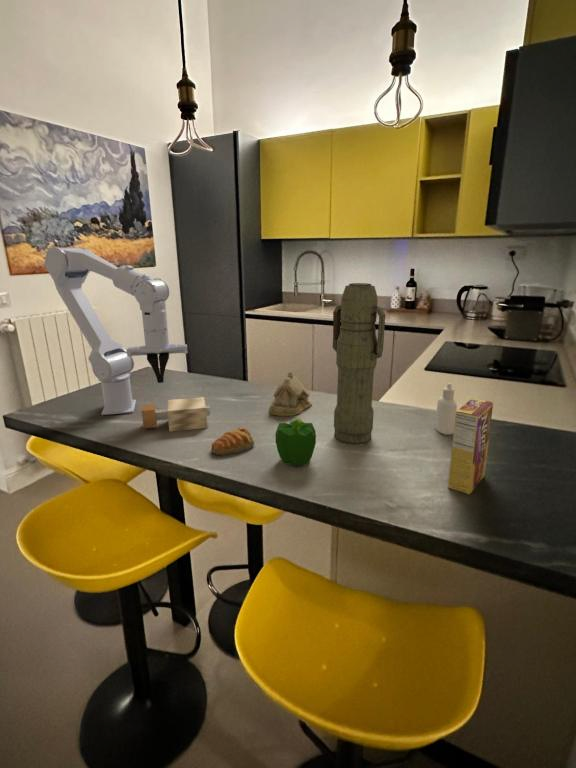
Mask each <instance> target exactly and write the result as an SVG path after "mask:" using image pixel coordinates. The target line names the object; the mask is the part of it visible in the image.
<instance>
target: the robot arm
mask: <svg viewBox="0 0 576 768" xmlns="http://www.w3.org/2000/svg"><path fill="white" fill-rule="evenodd" d="M44 258H45V259H44V267H45V269H46V270H47V272H48V273H49V276H50V277H51V278H52V280H53V283H54V286H55V289H56V291H57V293H58V295H59V296H60V298H61V300H62V301H63V303H64V305H65V306H66V308H67V310H68V312H69V313H70V314H71V316H72V318H73V320H74V321H75V323H76V324H77V326H78V328H79V330H80V332H81V333H82V335H83V336H84V338H85V340H86V341H87V343H88V344H89V347H90V348H91V351H90V353H89V355H88V358H87V359H88V361H89V363H90V365H91V370H92V373H93V374H94V376H95V377H96V378H97V379H98V381H99V382H100V384H101V390H102V397H103V405H104V407H103V408H102V411H101V416H104V415H105V416H106V415H117V414H118V415H119V414H129V413H134V411H135V406H136V402H137V400H136V399H133V394H132V386H131V385H132V384H131V379H130V376H131V375H132V371H133V369H134V368H135V360H134V357H137V356H146V360H147V362H148V363H149V366H150V367H151V369H152V371H153V373H154V375H155V377H156V382H157V384H161V383H162V384H163V383H164V380H165V379H164V376H165V370H166V367H167V364H168V362H169V359H170V355H171V354H188V352H189V351H188V344H170V341H169V330H168V328H169V326H168V319H167V316H168V315H167V307H166V306H167V305H166V301H167V300H168V299H169V296H170V289H169V286H168V284H167V283H166V282H165V281H164V280H162V278H151V277H150V275H149V274H146V273H145V274H144V273H141V272H139V271H137V270H135V268H134V266H132V265H131V264H129V265H128V264H126V265H120V266H119V267H118V266H116V265H114V264H113V263H111V262H109V261H107V260H106V259H104V258H102V257H101V256H99V255H96V254H95V253H94V252H93V251H92V250H89V249H87V248H86V247H83V246H82V247H56V246H52V247H50V248H48V249H47V251H46V253H45V257H44ZM90 272H93V273H95V274H98V275H100V276H103V277H104V278H107V279H109V280H111V281H112V283H113V286H114V287H115V288H117V289H119V290H121V291H123V292H125V293H127V294H128V295H131V296H133V297H134V298H135V299H136V302H138V304H139V310H140V311H141V315H142V316H141V318H142V326H143V335H144V336H143V337H144V344H145V345H139V346H133V347H131V346H129V347H126V349H125V347H124V346H123V344H121V343H119V342H118V341H115V340H113V339H112V338H111V336H110V334H109V332H108V330H107V329H106V328H105V326H104V324H103V323H102V321H101V318H99V316H98V314H97V312H96V311H95V309H94V307H93V306H92V304H91V303H90V301H89V298H88V297H87V295H86V294H85V292H84V290H83V289H82V285H83V284H84V283H85V281H86V279H87V277H88V275H89V273H90Z"/></svg>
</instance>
